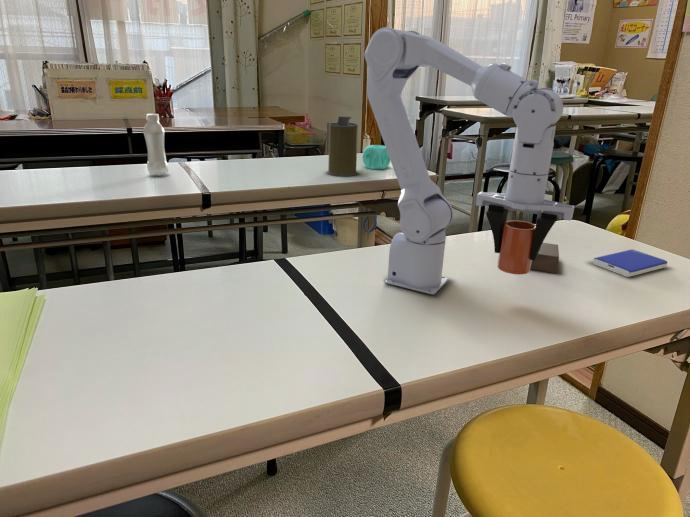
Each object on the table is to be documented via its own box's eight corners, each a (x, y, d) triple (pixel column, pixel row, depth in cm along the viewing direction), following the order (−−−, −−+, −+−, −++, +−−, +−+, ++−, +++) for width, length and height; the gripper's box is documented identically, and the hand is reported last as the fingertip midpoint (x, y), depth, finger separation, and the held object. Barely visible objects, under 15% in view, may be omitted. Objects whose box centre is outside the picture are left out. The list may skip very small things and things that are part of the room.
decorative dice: (361, 167, 197) (362, 146, 195) (373, 164, 203) (374, 144, 201) (379, 170, 193) (380, 148, 190) (390, 167, 199) (391, 146, 196)
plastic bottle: (165, 177, 170) (159, 115, 163) (145, 177, 170) (138, 114, 163) (171, 173, 176) (166, 113, 169) (152, 173, 176) (145, 112, 169)
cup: (493, 270, 83) (500, 225, 81) (501, 260, 88) (508, 218, 85) (525, 277, 81) (533, 231, 78) (532, 267, 85) (540, 223, 82)
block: (513, 267, 104) (516, 251, 103) (515, 254, 111) (518, 239, 110) (556, 273, 102) (559, 256, 100) (555, 260, 109) (558, 244, 107)
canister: (359, 171, 189) (361, 115, 182) (352, 177, 180) (354, 118, 173) (331, 169, 192) (332, 114, 185) (323, 174, 182) (323, 116, 175)
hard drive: (631, 248, 112) (593, 256, 107) (668, 260, 106) (630, 270, 100) (629, 255, 113) (592, 263, 107) (666, 267, 106) (628, 277, 101)
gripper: (474, 169, 79) (464, 252, 84) (575, 182, 72) (558, 272, 77) (487, 163, 84) (477, 241, 89) (582, 174, 78) (565, 258, 83)
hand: (515, 254), depth 83 cm, fingers closed on cup, 5 cm apart
